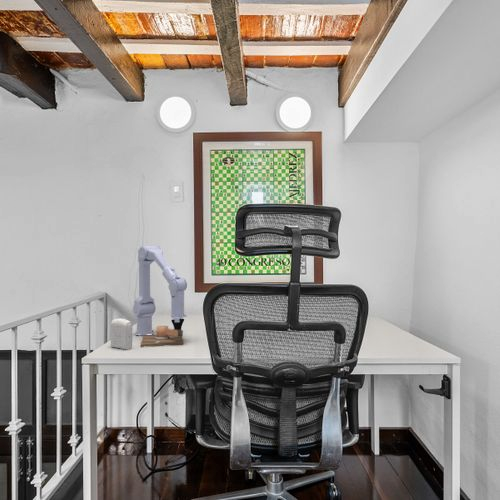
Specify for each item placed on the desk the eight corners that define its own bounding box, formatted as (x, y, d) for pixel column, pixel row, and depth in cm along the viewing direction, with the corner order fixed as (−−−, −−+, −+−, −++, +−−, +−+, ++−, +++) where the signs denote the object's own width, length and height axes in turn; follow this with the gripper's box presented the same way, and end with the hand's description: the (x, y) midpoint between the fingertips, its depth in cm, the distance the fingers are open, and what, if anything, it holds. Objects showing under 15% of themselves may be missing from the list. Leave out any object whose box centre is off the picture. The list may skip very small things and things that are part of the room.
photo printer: (134, 347, 165) (133, 319, 165) (126, 350, 161) (126, 320, 161) (117, 345, 170) (116, 316, 170) (109, 347, 166) (109, 318, 166)
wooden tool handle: (154, 336, 175) (154, 327, 175) (161, 333, 180) (161, 325, 180) (178, 339, 169) (178, 330, 169) (185, 336, 174) (185, 328, 174)
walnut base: (143, 337, 184) (143, 332, 184) (181, 335, 187) (181, 331, 187) (140, 347, 166) (140, 342, 166) (183, 344, 169) (183, 339, 169)
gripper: (186, 307, 169) (186, 338, 169) (187, 302, 183) (187, 331, 183) (169, 308, 168) (169, 339, 168) (171, 303, 182) (171, 331, 182)
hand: (177, 335), depth 175 cm, fingers closed, pressing on wooden tool handle
